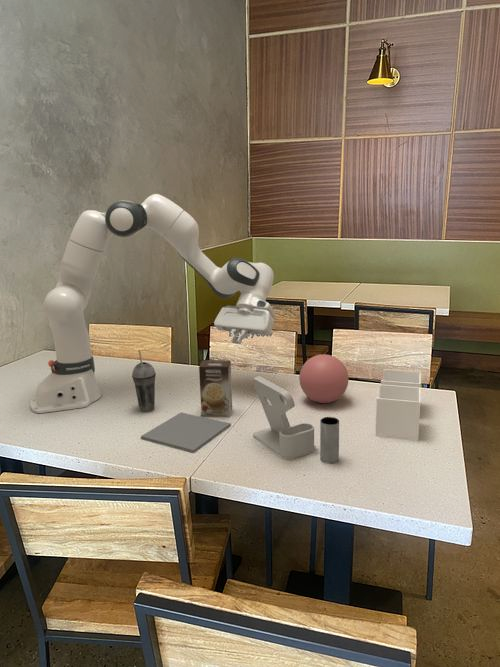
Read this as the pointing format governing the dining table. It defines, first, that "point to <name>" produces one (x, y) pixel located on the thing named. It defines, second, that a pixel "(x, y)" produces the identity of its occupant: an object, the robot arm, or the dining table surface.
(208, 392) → the coffee box
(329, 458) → the gray cylinder
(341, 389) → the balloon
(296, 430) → the phone holder
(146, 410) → the beverage cup
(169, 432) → the mat
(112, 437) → the dining table surface
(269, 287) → the robot arm
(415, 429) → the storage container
